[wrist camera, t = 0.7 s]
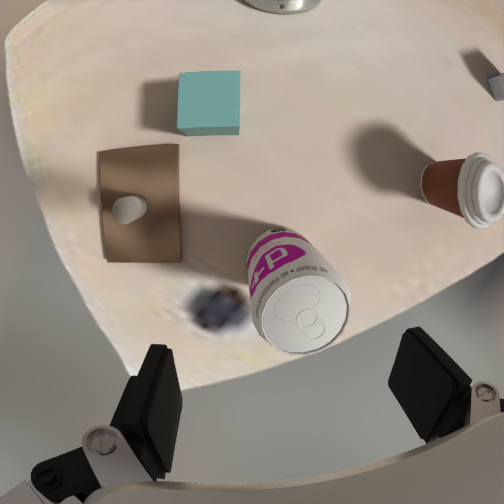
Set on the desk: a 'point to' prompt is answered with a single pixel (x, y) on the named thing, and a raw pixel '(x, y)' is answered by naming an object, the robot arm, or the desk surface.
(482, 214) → the coffee cup
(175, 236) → the post board
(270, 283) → the supplement can
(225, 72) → the teal cube
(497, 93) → the medicine box
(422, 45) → the desk surface
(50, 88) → the desk surface
